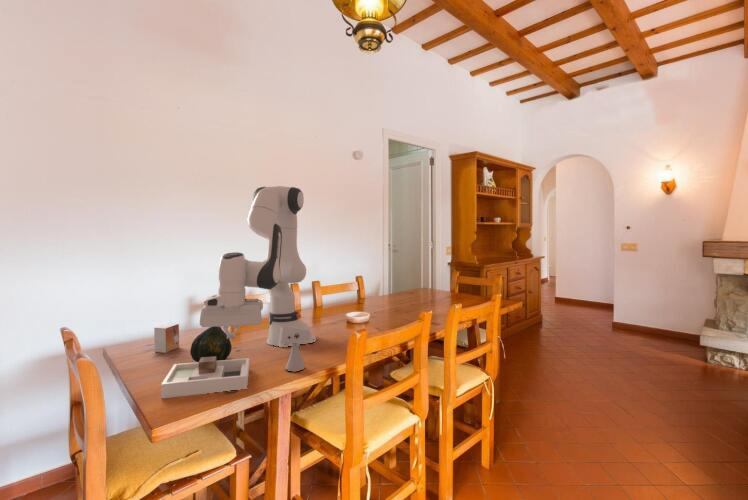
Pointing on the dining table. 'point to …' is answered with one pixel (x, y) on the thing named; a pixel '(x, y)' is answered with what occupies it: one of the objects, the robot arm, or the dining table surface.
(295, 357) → the flask
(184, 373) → the track
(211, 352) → the squash
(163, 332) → the small box
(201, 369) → the walnut block
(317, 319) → the dining table surface
